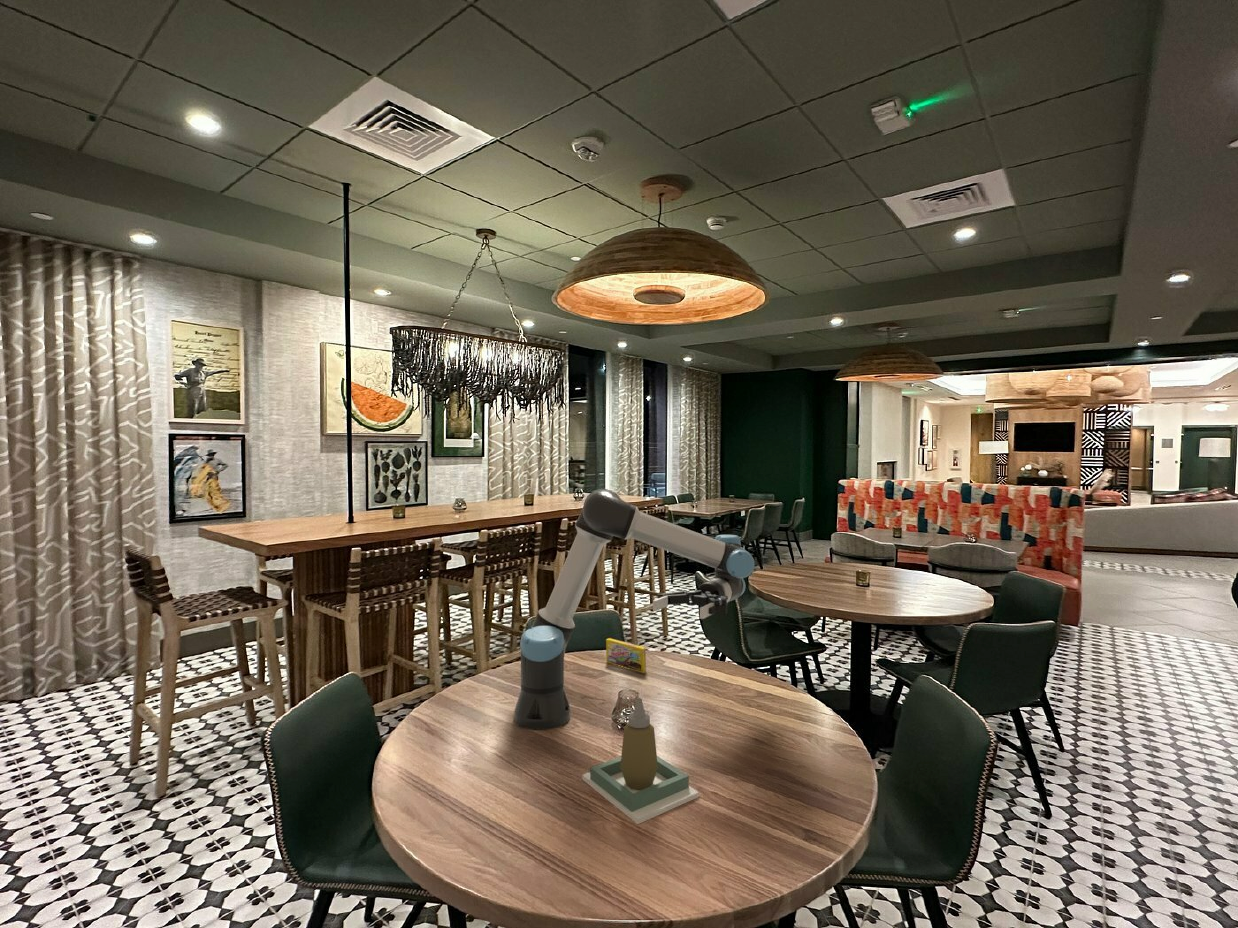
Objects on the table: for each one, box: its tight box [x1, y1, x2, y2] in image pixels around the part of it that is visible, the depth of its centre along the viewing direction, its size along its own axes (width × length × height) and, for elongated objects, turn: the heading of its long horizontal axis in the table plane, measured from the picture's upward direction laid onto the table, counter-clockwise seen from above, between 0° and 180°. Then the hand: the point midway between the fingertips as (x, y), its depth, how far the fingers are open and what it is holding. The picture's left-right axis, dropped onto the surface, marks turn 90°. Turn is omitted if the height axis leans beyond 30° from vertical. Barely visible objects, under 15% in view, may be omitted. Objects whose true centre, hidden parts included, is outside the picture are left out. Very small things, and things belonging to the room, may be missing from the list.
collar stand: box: [581, 755, 700, 825], centre depth 128 cm, size 20×16×4 cm
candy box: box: [605, 637, 647, 674], centre depth 203 cm, size 16×2×8 cm, turn 50°
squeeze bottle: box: [620, 697, 658, 790], centre depth 128 cm, size 8×8×18 cm
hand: (677, 609), depth 153 cm, fingers open, 13 cm apart
